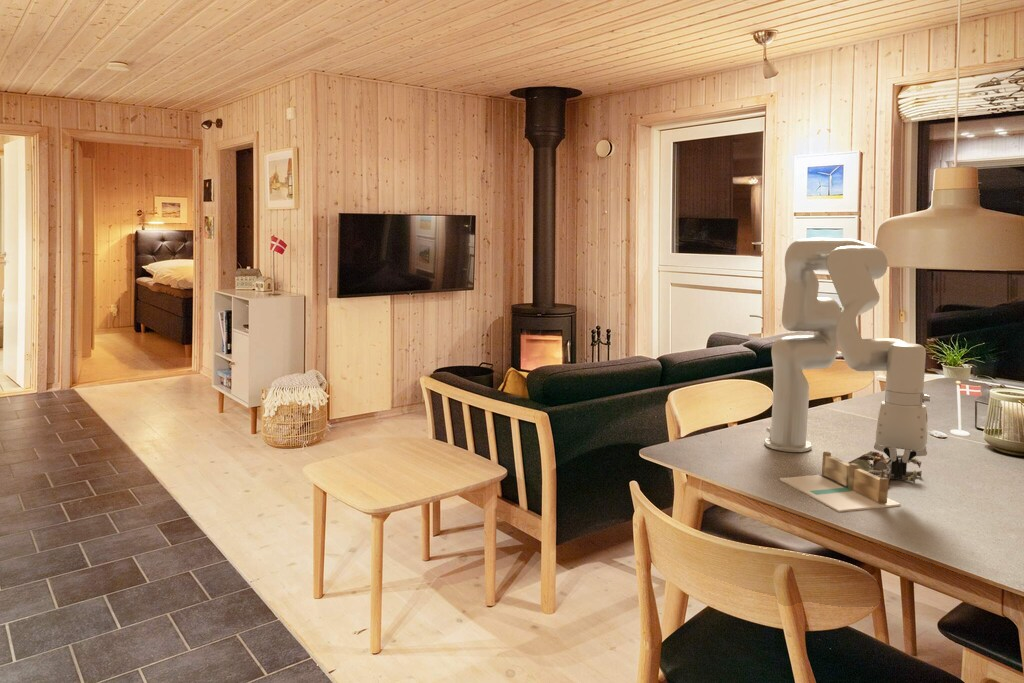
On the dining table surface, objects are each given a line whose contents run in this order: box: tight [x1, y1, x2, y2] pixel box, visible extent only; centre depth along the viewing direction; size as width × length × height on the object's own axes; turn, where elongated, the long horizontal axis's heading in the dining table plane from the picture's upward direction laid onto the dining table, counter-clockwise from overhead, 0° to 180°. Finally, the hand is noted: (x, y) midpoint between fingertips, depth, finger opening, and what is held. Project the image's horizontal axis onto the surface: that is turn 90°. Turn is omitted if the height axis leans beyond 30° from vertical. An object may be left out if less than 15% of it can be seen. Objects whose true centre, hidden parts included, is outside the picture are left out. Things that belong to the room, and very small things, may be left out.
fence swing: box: [853, 469, 890, 504], centre depth 172 cm, size 10×2×5 cm, turn 14°
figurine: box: [847, 450, 922, 484], centre depth 190 cm, size 20×6×17 cm
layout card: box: [779, 474, 901, 513], centre depth 178 cm, size 22×16×1 cm
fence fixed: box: [821, 451, 859, 491], centre depth 183 cm, size 12×2×6 cm, turn 14°
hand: (898, 477), depth 171 cm, fingers closed
